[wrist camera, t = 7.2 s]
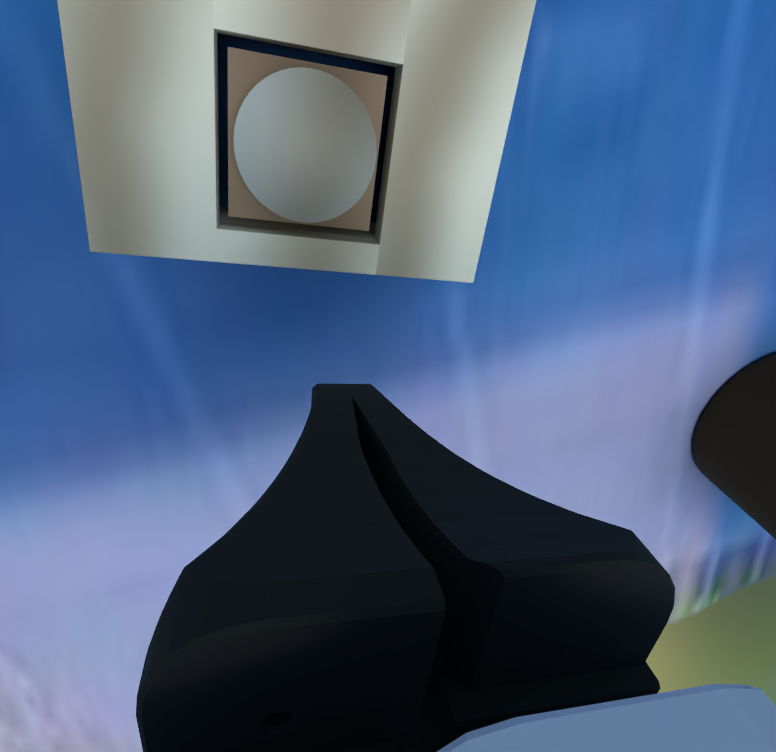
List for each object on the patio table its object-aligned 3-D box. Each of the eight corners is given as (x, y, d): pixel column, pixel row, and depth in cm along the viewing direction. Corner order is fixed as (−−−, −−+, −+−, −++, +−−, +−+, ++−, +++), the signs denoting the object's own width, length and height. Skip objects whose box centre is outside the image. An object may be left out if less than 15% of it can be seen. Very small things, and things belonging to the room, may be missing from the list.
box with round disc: (234, 199, 18) (226, 221, 14) (235, 57, 16) (225, 43, 12) (354, 213, 19) (373, 236, 16) (368, 81, 17) (393, 74, 14)
